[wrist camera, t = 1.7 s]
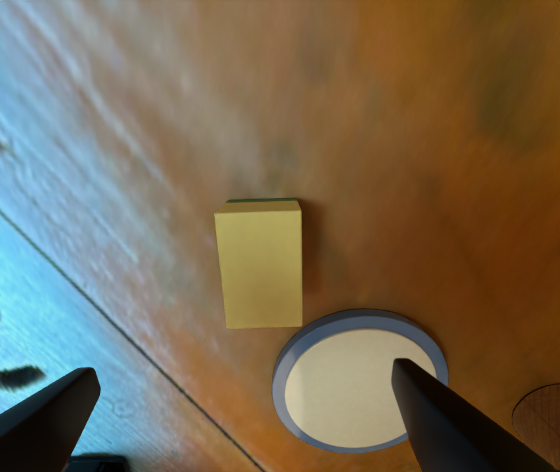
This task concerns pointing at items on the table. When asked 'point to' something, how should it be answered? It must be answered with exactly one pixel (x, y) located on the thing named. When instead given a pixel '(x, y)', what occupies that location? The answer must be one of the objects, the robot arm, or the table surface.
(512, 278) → the table surface
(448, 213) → the table surface
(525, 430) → the disposable coffee cup
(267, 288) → the sponge
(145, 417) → the table surface
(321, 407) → the plate
